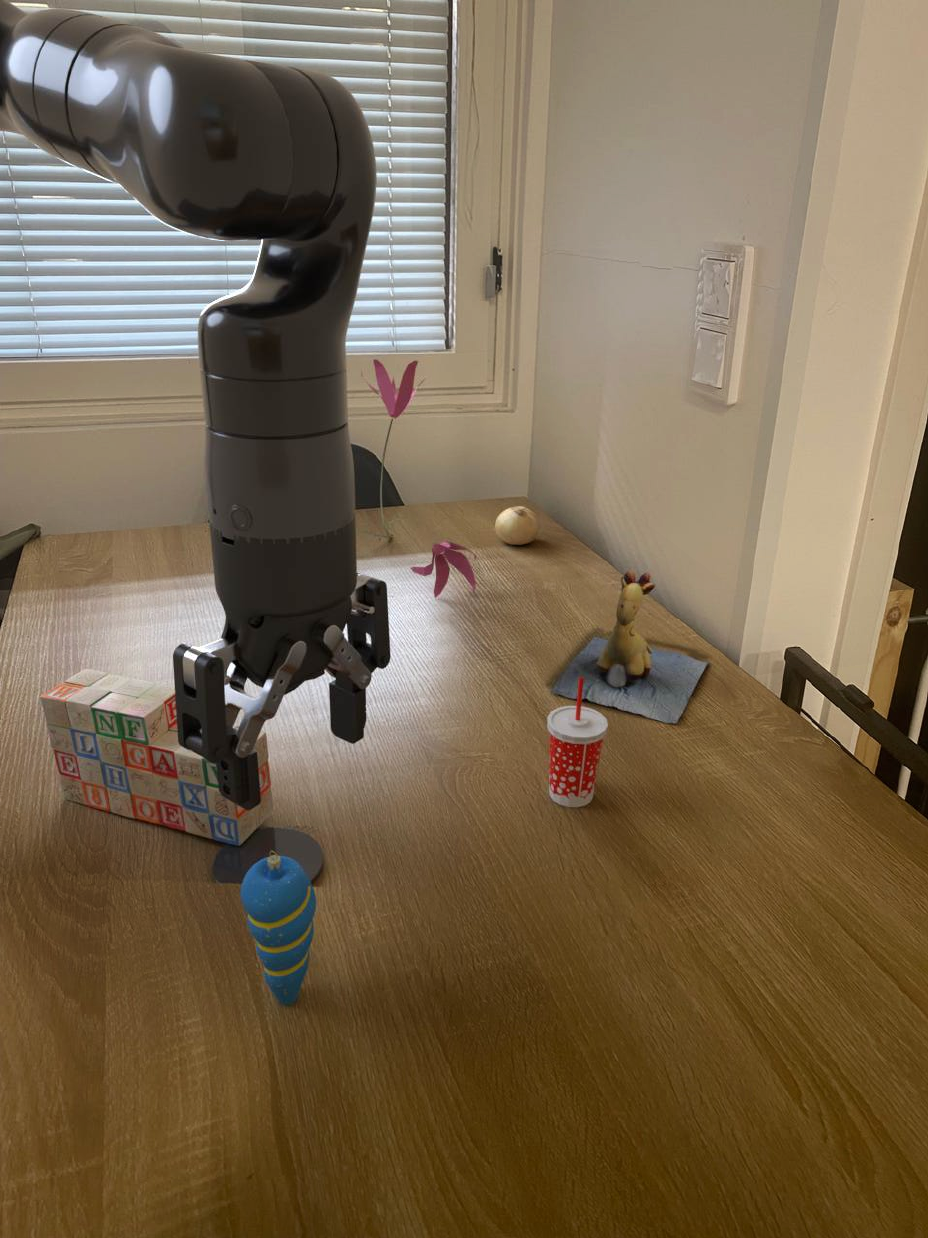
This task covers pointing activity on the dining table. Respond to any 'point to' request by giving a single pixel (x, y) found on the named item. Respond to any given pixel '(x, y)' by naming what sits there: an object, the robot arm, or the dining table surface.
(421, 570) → the decorative plant
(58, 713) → the stack of blocks
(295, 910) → the ornament
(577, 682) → the stuffed giraffe
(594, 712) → the beverage cup
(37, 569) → the dining table surface
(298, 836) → the slate coaster
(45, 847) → the dining table surface
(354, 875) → the dining table surface
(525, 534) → the onion
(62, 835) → the dining table surface
